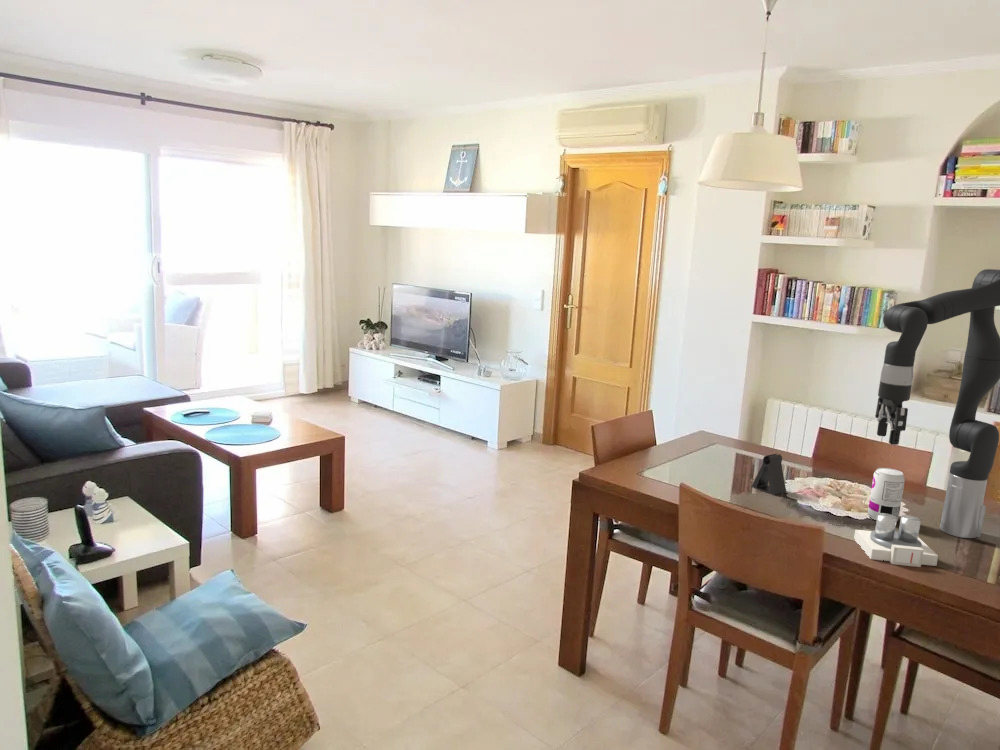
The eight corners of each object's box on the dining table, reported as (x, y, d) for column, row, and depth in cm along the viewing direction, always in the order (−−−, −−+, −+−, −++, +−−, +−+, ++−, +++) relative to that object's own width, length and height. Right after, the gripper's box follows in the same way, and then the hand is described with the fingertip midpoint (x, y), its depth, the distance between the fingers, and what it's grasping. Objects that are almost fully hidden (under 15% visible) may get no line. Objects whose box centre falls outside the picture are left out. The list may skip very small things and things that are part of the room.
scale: (915, 545, 199) (917, 529, 198) (940, 569, 184) (943, 552, 184) (853, 539, 201) (856, 523, 200) (873, 562, 186) (876, 545, 186)
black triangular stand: (751, 487, 241) (755, 452, 238) (762, 484, 244) (767, 450, 242) (774, 495, 233) (779, 460, 231) (786, 492, 237) (790, 457, 234)
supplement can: (863, 518, 217) (870, 470, 214) (872, 512, 223) (880, 465, 220) (892, 526, 212) (900, 477, 209) (901, 520, 217) (909, 472, 215)
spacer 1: (889, 535, 195) (892, 513, 194) (896, 541, 191) (899, 520, 190) (871, 533, 196) (874, 512, 195) (877, 540, 191) (881, 518, 190)
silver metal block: (912, 537, 195) (916, 516, 194) (920, 544, 190) (924, 522, 189) (894, 535, 195) (898, 514, 194) (901, 542, 191) (905, 520, 190)
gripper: (922, 387, 185) (912, 448, 189) (900, 377, 199) (891, 434, 202) (891, 385, 186) (882, 446, 190) (871, 375, 200) (863, 432, 203)
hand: (887, 439), depth 196 cm, fingers open, 8 cm apart
